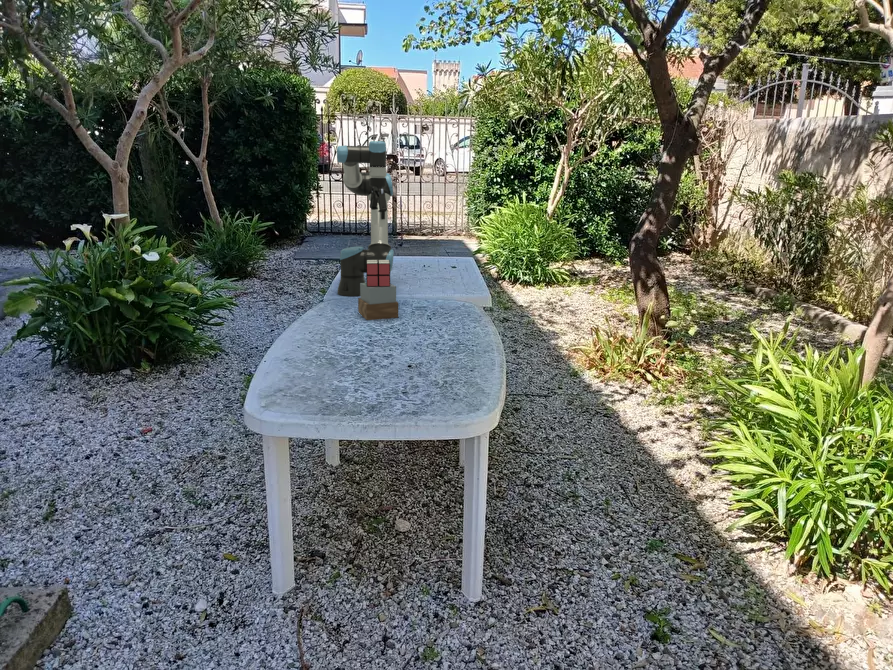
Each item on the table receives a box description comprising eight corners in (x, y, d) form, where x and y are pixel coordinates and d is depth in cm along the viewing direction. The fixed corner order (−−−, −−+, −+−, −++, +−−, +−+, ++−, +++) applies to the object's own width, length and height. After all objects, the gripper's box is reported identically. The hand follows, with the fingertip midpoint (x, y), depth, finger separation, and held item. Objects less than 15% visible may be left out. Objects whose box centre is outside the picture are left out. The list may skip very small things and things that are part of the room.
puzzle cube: (390, 286, 269) (390, 263, 266) (366, 287, 268) (366, 263, 265) (389, 282, 278) (389, 259, 276) (366, 282, 277) (366, 259, 275)
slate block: (360, 298, 278) (360, 283, 276) (386, 296, 283) (386, 281, 281) (369, 304, 267) (369, 288, 265) (396, 302, 272) (396, 286, 270)
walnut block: (358, 313, 281) (358, 298, 279) (388, 311, 286) (388, 296, 284) (366, 320, 268) (366, 304, 266) (398, 318, 274) (398, 302, 272)
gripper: (362, 176, 293) (363, 222, 299) (377, 178, 271) (377, 228, 276) (378, 176, 296) (378, 222, 301) (394, 178, 273) (394, 227, 279)
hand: (378, 225), depth 289 cm, fingers open, 13 cm apart
